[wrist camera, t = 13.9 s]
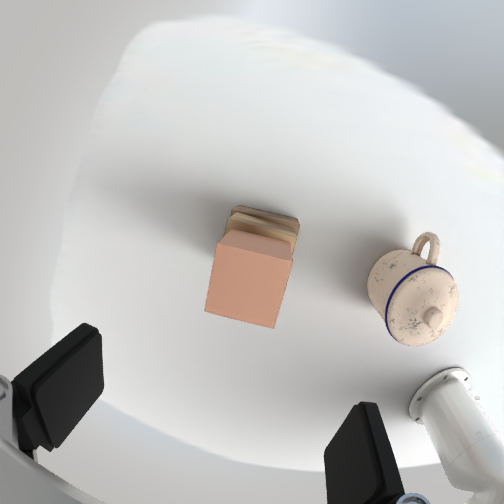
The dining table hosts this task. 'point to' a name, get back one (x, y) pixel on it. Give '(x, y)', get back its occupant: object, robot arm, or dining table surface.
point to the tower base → (269, 217)
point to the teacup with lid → (413, 293)
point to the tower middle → (261, 228)
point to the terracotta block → (249, 277)
